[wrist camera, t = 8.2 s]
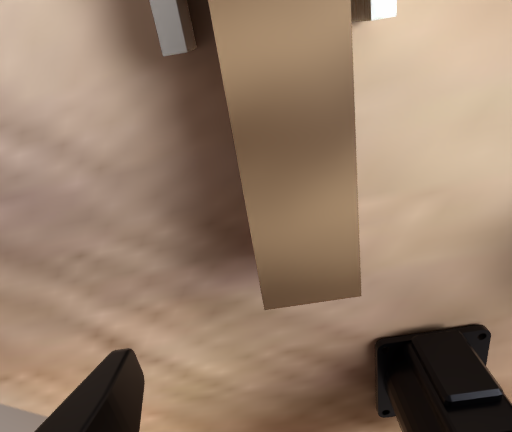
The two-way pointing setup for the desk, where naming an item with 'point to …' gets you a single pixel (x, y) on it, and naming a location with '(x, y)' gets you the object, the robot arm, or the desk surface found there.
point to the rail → (294, 142)
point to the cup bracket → (181, 31)
